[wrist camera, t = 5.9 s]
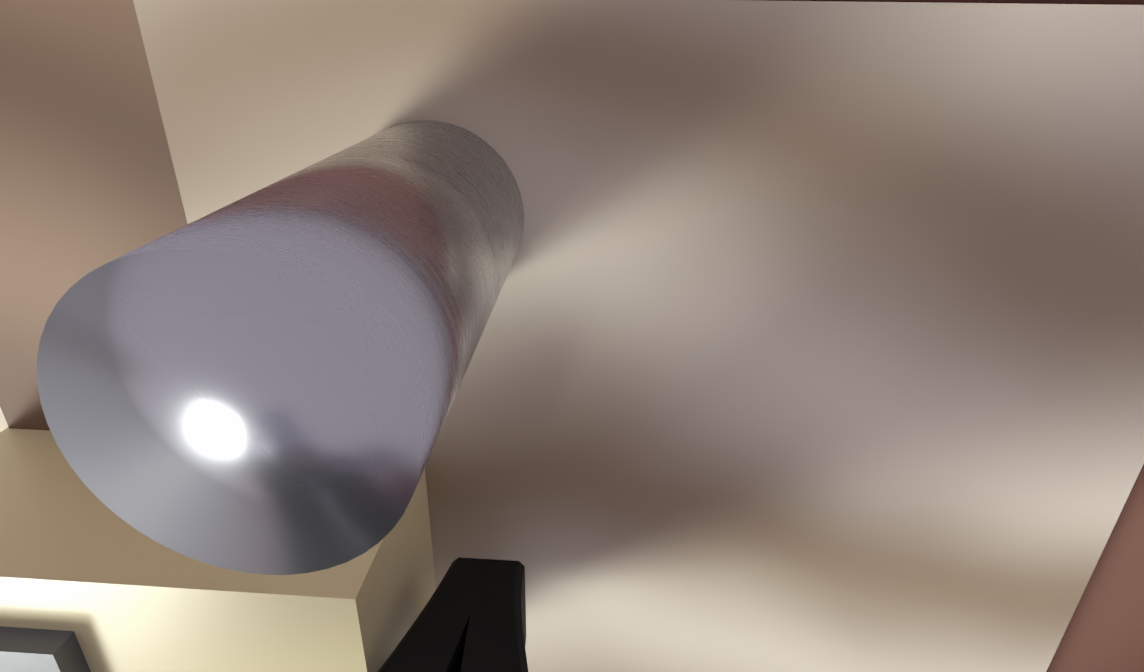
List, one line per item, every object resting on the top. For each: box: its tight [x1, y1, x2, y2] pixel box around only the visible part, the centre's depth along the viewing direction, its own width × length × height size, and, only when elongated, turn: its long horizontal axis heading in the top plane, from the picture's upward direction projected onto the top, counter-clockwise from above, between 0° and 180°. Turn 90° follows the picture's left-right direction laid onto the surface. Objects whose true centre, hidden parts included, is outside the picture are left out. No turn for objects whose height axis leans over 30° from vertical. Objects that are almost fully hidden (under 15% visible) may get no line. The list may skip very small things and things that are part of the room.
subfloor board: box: [0, 0, 1144, 672], centre depth 13 cm, size 18×26×1 cm
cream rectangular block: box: [0, 428, 436, 672], centre depth 12 cm, size 5×8×4 cm, turn 89°
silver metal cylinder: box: [37, 120, 524, 575], centre depth 8 cm, size 3×3×6 cm
